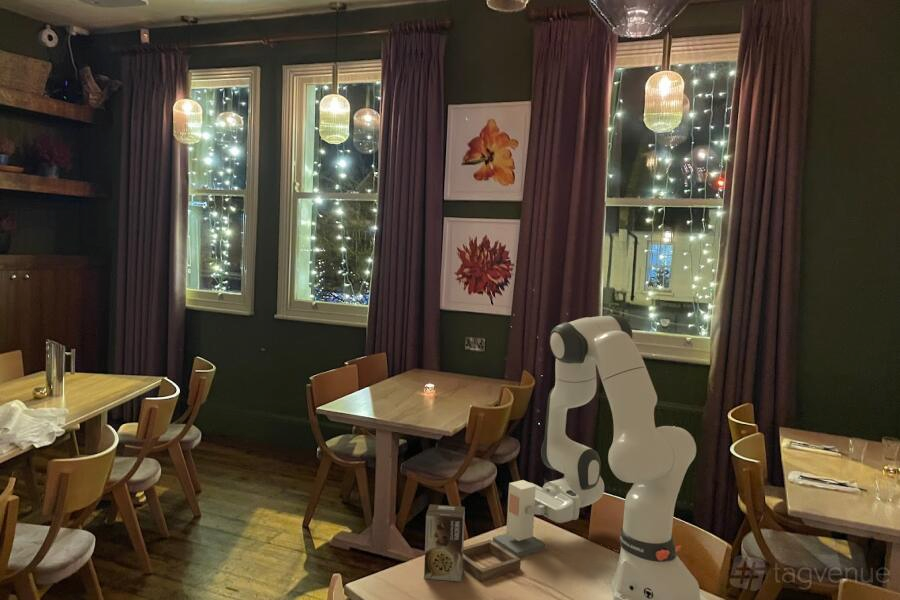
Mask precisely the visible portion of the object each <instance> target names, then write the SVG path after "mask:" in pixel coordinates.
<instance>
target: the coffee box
mask: <svg viewBox="0 0 900 600" xmlns="http://www.w3.org/2000/svg"><path fill="white" fill-rule="evenodd" d="M427 508H428V509H427V511H426V513H425V514H426V515H425V544H424V565H423V566H424V570H423V579H424V580H427V579H428V580H436V581H437V580H438V581H447V582H449V581H450V582H462V578H463V577H462V576H463V569H464V568H463V547H464V541H465V539H464V537H465V516H466V514H465V513H466V507H465V506H460V505H459V506H456V505H445V504H432V503H430V504H429V505H428V507H427Z"/></svg>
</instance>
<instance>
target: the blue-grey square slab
mask: <svg viewBox="0 0 900 600" xmlns="http://www.w3.org/2000/svg"><path fill="white" fill-rule="evenodd" d="M492 541H493V542H495V543H496V544H498V545H499V546H501V547H502V548H504V549H506V550H507V551H509V552H510V553H512V554H513V555H515V556H516V557H518V558H522V557H526V556H529V555H531V554H534V553H538V552H541V551H544V550H546V547H547V546H546V545H547V543H546V542H544V541H542V540H540V539H538V538H537V537H535V536H533V537H530V538H527V539H524V540H520V541H518V540H516V539H514V538H513V537H511V536H510V535H508V534H506V533H503V534H500V535H495V536H492Z"/></svg>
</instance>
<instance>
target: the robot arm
mask: <svg viewBox="0 0 900 600" xmlns="http://www.w3.org/2000/svg"><path fill="white" fill-rule="evenodd" d="M549 348H550V350H551V353H552V354H553V356H554V358H555V364H554V365H555V368H554V369H555V371H554V372H555V383H554V384H555V385H554V387H552V389H551V390H550V392H549V394H548V397H547V403H546V414H545V425H544V426H545V427H544V437H543V441H542V445H541V450H540V455H541V456H540V457H541V460H542V463H543V464H544V466H545V467H547V468H549V469H551V470H554V471H556V472H557V471H558V472H559V473H561V474H563V477H562V478H559V479H554V480H552V481H547V482H545V483H544V484H543V486H542V487H541V486H539V485H537V484H535V483H533V482H531V481H530V482H529V483H531V484H533V485H535V486H536V491H535V507H532V506H528V507H526V508H525V513H526V514H528V515H532V514H534V516H535V515H539V516H543V517H546V518H547V519H548V520H551V521H552V522H554V523H558V524H564V523H567V522H570V521H572V520H573V521H576V520H578V519H579V515H580V508H585V507H587V506H590V505H592V504H595V503H596V502H598V501H599V500H600V499H601V498H602V497H603V495H604V492H605V483H604V479H602V477H601V472H602V471H601V468H602V467H601V466H602V465H601V464H602V463H601V459H600V458H601V457H600V456H599V453H598V452H597V451H596V449H593V448H591V447H589V446H586V445H585V444H582V443H579V442H576V441H574V440H572V439H571V438H569V437H568V436H567V434H566V424H567V413H568V410H569V409H574V408H578V407H582V406H584V405H587V404H588V403H590V401H591V400H593V398H594V397H595V395H596V392H597V386H598V385H597V383H598V382H597V370H598V374H599V378H600V380H601V383H602V386H603V389H604V392H605V394H606V397H607V400H608V404H609V407H610V410H611V414H612V420H613V439H612V443H611V446H610V448H609V450H608V456H607V459H608V460H607V462H608V465H609V468H610V470H611V472H612V473H613V475H614V476H615V477H616V478H617V479H619V480H620V481H622V482H623V483H624V482H625V483H628V484H630V483H632V486H631V487H630V489H629V490H628V492H627V494H626V496H625V499H624V510H623V522H622V523H623V524H622V527H621V528H620V537H619V545H620V552H619V558H618V562H617V566H616V570H615V573H614V576H613V579H612V580H611V589H612V591H613V600H702V599H701V591H700V586H699V582H698V581H697V579H696V578H695V577H694V575H693V573H692V572H690V571H689V569H688V568H687V566H686V565H685V564H684V562H683V561H682V560H681V559H680V558H679V556H678V552H679V551H681V550H682V548H681V547H682V545H681V544H679V545H676V544H675V541H674V536H673V535H672V533H673V523H674V513H675V507H676V503H677V498H678V495H679V493H680V489H681V486H682V484H683V480H684V478H685V474H686V473H687V471H688V468H689V467H690V465H691V463H692V462H693V461H694V459H695V458H696V454H697V445H696V442H695V439H694V437H693V436H692V434H691V433H690V432H689V431H687V430H686V429H684V428H682V427H681V426H679V427H678V426H674V425H673V426H672V425H662V426H658V427H656V423H655V414H654V413H655V408H656V406H657V403H658V395H657V392H656V390H655V387H654V385H653V382H652V379H651V377H650V374H649V371H648V369H647V366H646V364H645V361H644V359H643V357H642V355H641V353H640V351H639V349H638V347H637V345H636V343H635V342H634V340H633V329H632V326H631V325H630V322H628V320H627V318H625V317H624V316H622V314H621V315H619V314H606V315H599V316H598V315H597V316H592V317H591V316H590V317H587V316H586V317H581V318H578V319H575V320H573V321H569V322H563V323H561V324H560V323H559V324H558V325H556V326H555V327H553V329H552V330H551V332H550V335H549ZM597 492H598V493H597ZM594 493H595V494H594Z"/></svg>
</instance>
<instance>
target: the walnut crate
mask: <svg viewBox="0 0 900 600" xmlns="http://www.w3.org/2000/svg"><path fill="white" fill-rule="evenodd" d="M486 553H491V554H492V555H493V556H494V557H496V558H497V559H499V560H501V561H502V562H499V563H498V562H497V563H495V564H493V565H490V566H486V567H482V566H480V565H479V564H477V562H475V561H473V560H472V559H471V558H473V557H476V556H479V555H483V554H486ZM521 562H522V560H521V557H519V558H518V557H516V556H515V555H513V554H512V553H510V552H509V551H507V550H506V549H504V548H502V547H501V546H499V545H498V544H496V543H495V542H493V539H488V540H484V541H480V542H477V543H474V544H470V545H466V546H463V569H464V570H465V571H466V572H468V573H469V574H470V575H472V576H473V577H474V578H476V579H477V580H479V581H480V582H485V581H488V580H491V579H495V578H498V577H500V576H502V575H506V574H510V573H512V572H515V571H518V570H521Z"/></svg>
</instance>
